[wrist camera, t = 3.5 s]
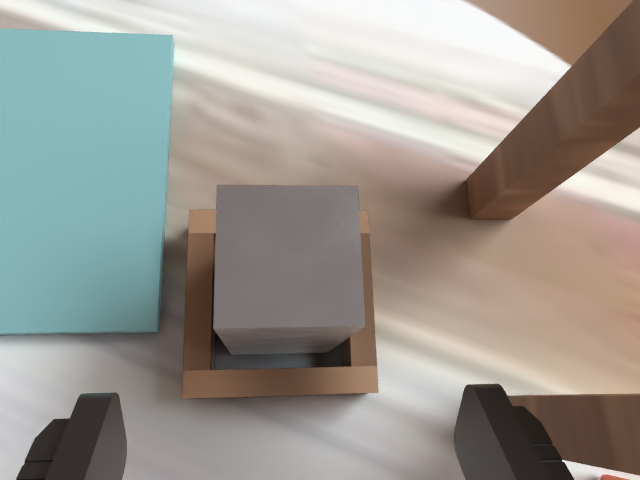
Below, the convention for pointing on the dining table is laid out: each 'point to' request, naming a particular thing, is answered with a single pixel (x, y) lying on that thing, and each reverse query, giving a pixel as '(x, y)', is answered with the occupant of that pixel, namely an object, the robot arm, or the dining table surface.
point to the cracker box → (611, 478)
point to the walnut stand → (485, 203)
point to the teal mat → (83, 180)
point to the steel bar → (287, 268)
